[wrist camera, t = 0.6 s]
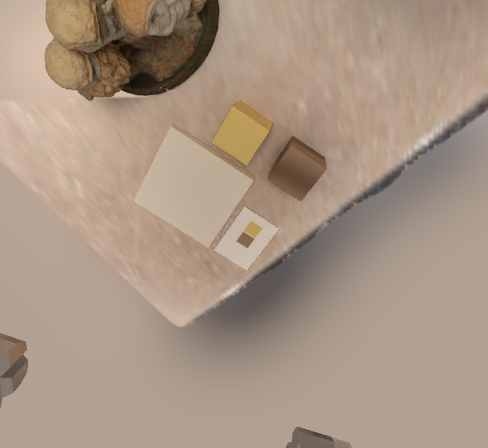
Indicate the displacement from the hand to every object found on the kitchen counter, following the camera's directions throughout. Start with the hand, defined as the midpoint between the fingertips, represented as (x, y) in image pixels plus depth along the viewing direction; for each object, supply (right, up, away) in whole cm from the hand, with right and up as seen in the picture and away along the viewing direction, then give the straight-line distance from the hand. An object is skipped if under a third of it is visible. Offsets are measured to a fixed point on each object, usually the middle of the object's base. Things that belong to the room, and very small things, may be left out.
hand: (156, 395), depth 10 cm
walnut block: (+10, +13, +37) cm, 40 cm away
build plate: (-5, +10, +41) cm, 43 cm away
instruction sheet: (+3, +3, +43) cm, 43 cm away
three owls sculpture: (-8, +28, +33) cm, 44 cm away
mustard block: (+3, +17, +36) cm, 40 cm away
